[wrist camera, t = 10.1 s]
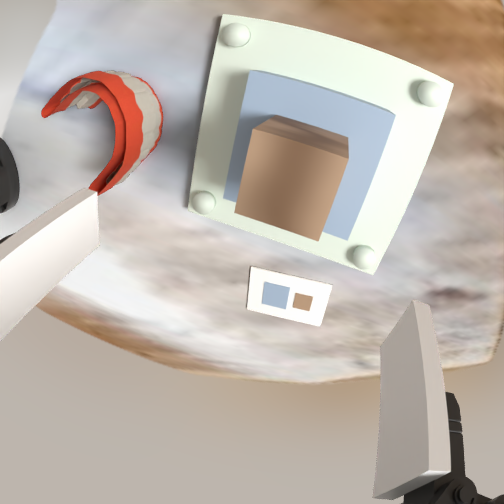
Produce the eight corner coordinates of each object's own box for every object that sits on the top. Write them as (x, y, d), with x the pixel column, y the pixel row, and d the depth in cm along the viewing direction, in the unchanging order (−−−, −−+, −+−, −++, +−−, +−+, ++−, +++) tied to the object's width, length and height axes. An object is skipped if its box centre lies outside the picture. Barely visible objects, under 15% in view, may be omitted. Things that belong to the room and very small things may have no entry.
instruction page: (247, 308, 43) (246, 309, 43) (251, 266, 39) (250, 267, 39) (320, 325, 41) (320, 327, 41) (332, 284, 37) (332, 286, 37)
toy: (194, 132, 32) (154, 151, 26) (133, 176, 37) (92, 201, 31) (138, 45, 28) (90, 46, 22) (86, 98, 33) (39, 111, 27)
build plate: (191, 206, 37) (183, 214, 35) (227, 15, 25) (218, 12, 23) (372, 269, 35) (373, 280, 33) (450, 83, 22) (457, 84, 20)
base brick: (236, 184, 33) (222, 198, 30) (262, 70, 26) (249, 70, 23) (348, 221, 32) (347, 240, 28) (389, 110, 25) (395, 115, 21)
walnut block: (260, 180, 28) (234, 212, 22) (276, 114, 24) (252, 128, 19) (326, 202, 27) (318, 241, 21) (348, 137, 24) (348, 159, 18)
